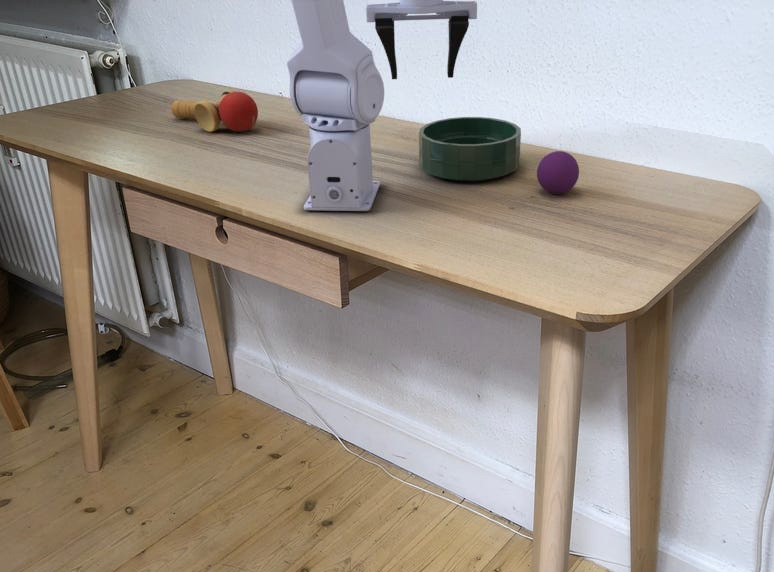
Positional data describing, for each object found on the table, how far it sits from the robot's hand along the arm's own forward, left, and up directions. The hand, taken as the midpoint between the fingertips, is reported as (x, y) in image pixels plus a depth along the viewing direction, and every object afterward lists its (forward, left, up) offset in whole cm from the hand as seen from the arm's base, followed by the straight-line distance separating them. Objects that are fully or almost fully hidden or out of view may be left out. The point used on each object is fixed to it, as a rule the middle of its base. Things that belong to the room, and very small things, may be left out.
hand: (422, 77), depth 104 cm
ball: (-18, -18, -7) cm, 26 cm away
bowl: (-9, -7, -10) cm, 15 cm away
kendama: (+11, +35, -10) cm, 38 cm away
